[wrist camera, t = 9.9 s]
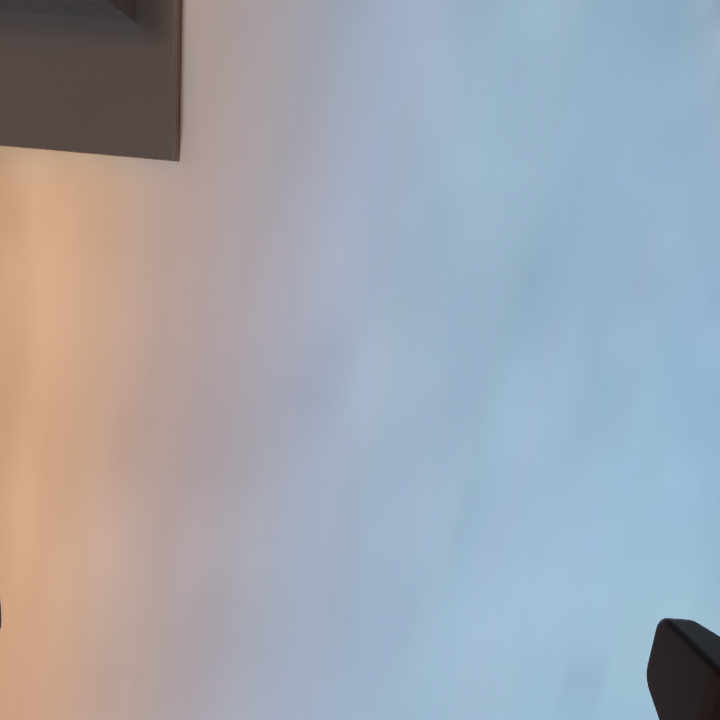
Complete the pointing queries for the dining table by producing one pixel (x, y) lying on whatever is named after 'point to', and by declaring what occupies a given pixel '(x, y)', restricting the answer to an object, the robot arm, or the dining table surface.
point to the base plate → (91, 76)
